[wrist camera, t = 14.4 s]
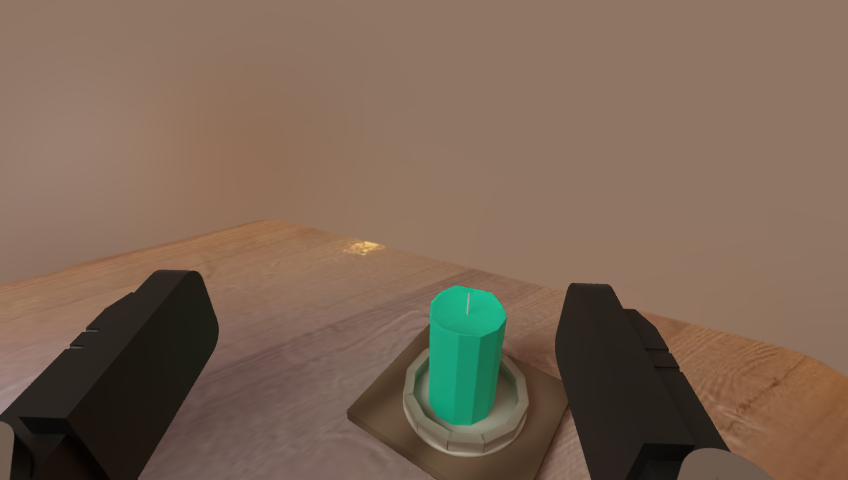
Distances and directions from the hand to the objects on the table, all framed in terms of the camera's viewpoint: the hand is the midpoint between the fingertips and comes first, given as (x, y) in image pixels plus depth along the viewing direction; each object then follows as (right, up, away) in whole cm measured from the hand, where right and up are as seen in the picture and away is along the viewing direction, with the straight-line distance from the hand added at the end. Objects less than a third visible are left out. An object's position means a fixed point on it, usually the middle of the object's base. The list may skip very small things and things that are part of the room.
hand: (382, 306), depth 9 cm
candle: (+4, -13, +29) cm, 32 cm away
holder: (+5, -14, +30) cm, 33 cm away
